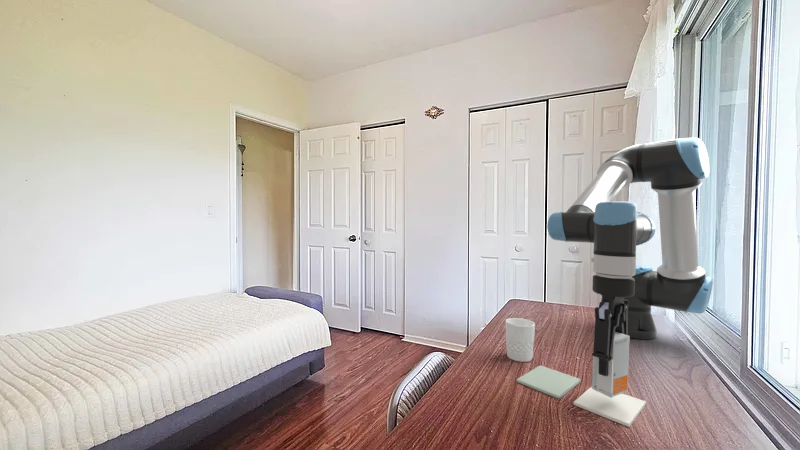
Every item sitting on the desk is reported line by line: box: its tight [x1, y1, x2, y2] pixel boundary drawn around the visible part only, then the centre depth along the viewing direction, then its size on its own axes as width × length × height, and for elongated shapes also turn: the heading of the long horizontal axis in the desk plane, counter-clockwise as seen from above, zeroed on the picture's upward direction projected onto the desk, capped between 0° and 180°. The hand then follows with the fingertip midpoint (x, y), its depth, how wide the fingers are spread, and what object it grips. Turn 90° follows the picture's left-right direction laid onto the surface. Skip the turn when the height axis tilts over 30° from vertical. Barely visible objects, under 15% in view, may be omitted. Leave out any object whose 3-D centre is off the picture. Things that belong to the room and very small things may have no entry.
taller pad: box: [573, 385, 647, 428], centre depth 71 cm, size 12×10×1 cm
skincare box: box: [591, 332, 631, 398], centre depth 71 cm, size 6×4×12 cm
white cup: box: [505, 317, 536, 363], centre depth 95 cm, size 8×8×10 cm
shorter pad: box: [516, 364, 582, 400], centre depth 81 cm, size 12×10×1 cm
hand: (610, 383), depth 71 cm, fingers closed on skincare box, 7 cm apart
